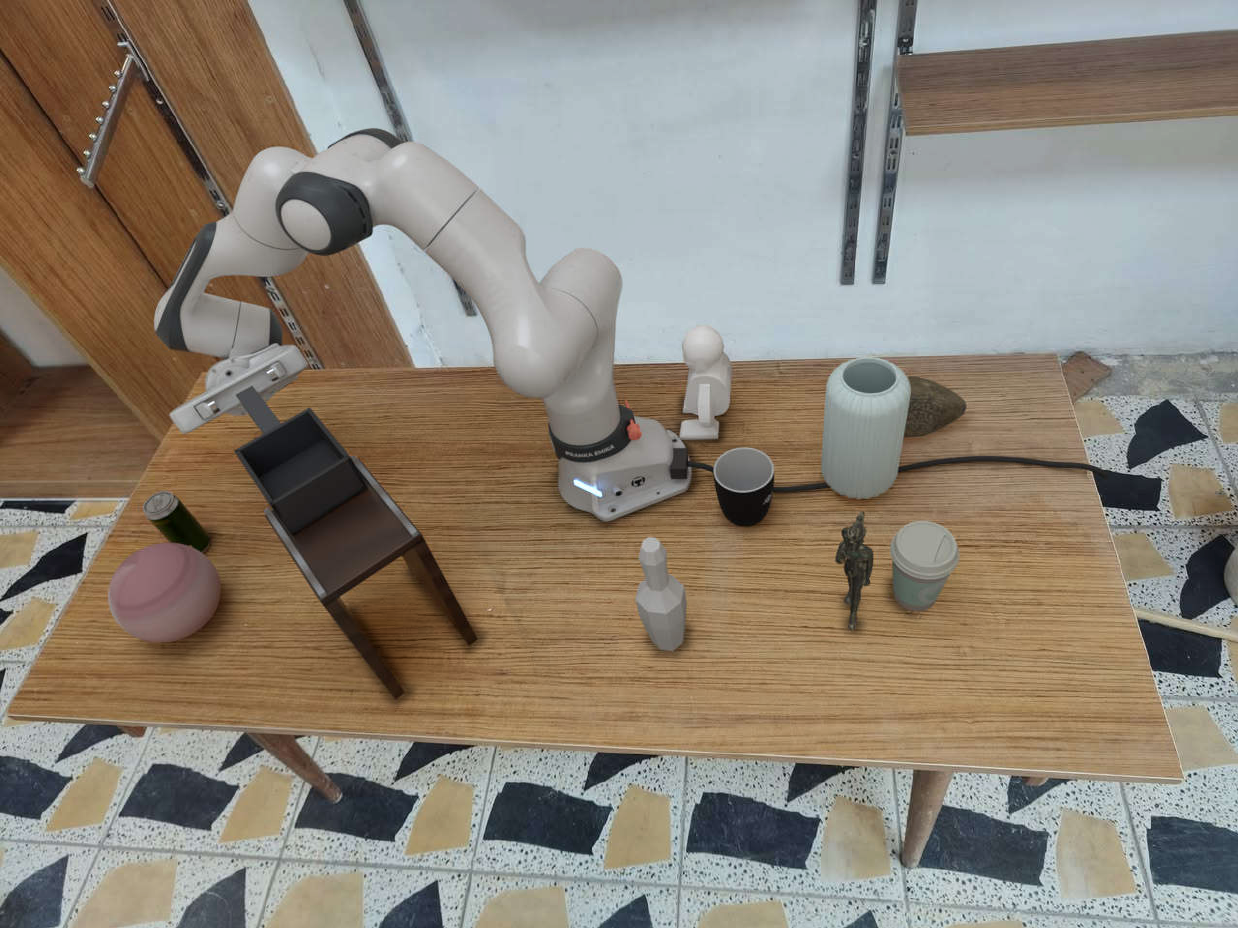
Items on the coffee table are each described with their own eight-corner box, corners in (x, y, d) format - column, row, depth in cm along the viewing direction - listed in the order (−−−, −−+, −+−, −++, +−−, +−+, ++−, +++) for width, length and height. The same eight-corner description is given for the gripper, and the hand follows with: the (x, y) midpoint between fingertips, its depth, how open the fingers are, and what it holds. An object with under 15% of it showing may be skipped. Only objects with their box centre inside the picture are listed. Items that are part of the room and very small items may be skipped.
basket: (368, 487, 107) (350, 456, 102) (291, 535, 103) (270, 505, 99) (297, 400, 121) (279, 369, 116) (227, 439, 117) (206, 409, 113)
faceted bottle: (676, 663, 112) (660, 574, 96) (637, 644, 115) (615, 554, 99) (698, 627, 116) (686, 535, 100) (660, 610, 119) (641, 517, 102)
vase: (812, 498, 128) (818, 396, 112) (829, 446, 135) (836, 342, 118) (888, 514, 124) (905, 410, 108) (901, 459, 131) (919, 354, 114)
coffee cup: (911, 630, 111) (922, 581, 102) (870, 586, 116) (877, 535, 107) (960, 601, 113) (976, 551, 104) (918, 558, 118) (929, 507, 109)
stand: (478, 639, 120) (419, 529, 100) (395, 699, 115) (316, 597, 95) (419, 566, 130) (356, 453, 111) (342, 618, 126) (261, 511, 106)
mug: (770, 537, 124) (769, 495, 117) (712, 530, 127) (708, 488, 119) (780, 478, 132) (780, 435, 124) (725, 472, 134) (722, 430, 127)
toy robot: (685, 391, 148) (675, 302, 133) (735, 391, 146) (730, 301, 132) (677, 448, 139) (666, 359, 125) (730, 448, 137) (725, 359, 123)
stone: (951, 398, 138) (959, 363, 132) (969, 436, 132) (978, 400, 126) (850, 412, 139) (853, 377, 133) (863, 449, 133) (867, 415, 127)
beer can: (212, 552, 139) (174, 508, 130) (181, 563, 138) (140, 520, 129) (212, 529, 142) (175, 485, 133) (181, 540, 141) (142, 496, 133)
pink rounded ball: (143, 602, 133) (86, 548, 122) (233, 564, 136) (186, 508, 125) (145, 676, 124) (84, 625, 113) (243, 634, 126) (192, 580, 115)
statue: (828, 632, 112) (835, 547, 98) (832, 593, 116) (840, 506, 102) (863, 638, 111) (876, 552, 96) (867, 598, 115) (880, 511, 100)
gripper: (161, 403, 123) (158, 410, 111) (284, 337, 130) (295, 336, 118) (186, 439, 125) (187, 449, 113) (307, 372, 132) (319, 374, 120)
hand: (243, 391), depth 115 cm, fingers open, 8 cm apart
